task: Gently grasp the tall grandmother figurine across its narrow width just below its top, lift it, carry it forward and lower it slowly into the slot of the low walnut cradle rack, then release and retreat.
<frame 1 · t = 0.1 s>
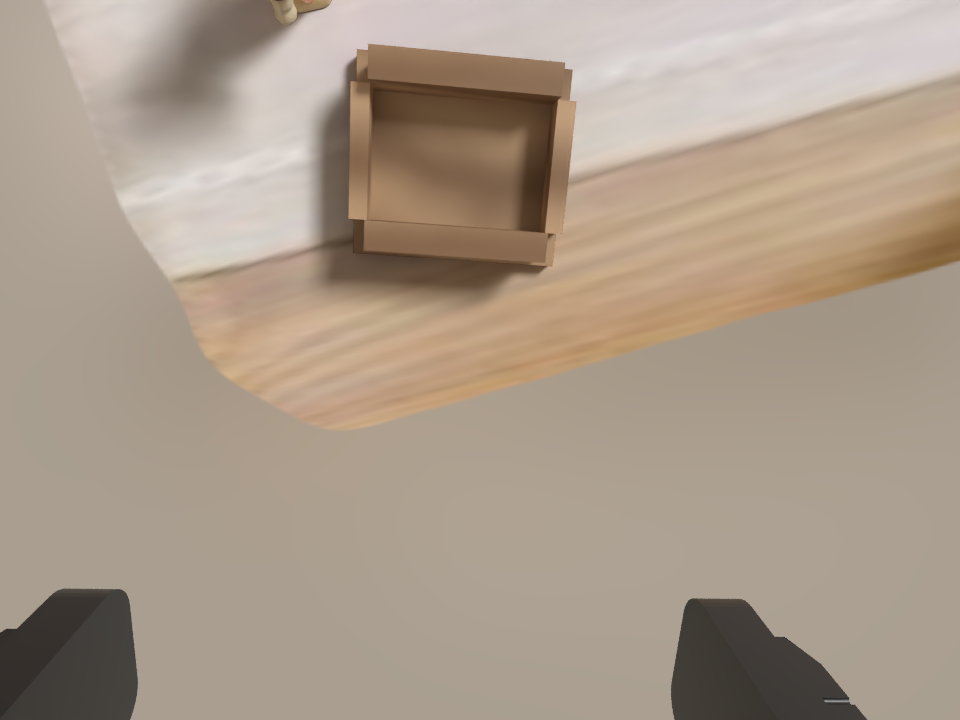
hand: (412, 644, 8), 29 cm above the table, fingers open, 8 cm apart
rack: (459, 164, 34), on the table
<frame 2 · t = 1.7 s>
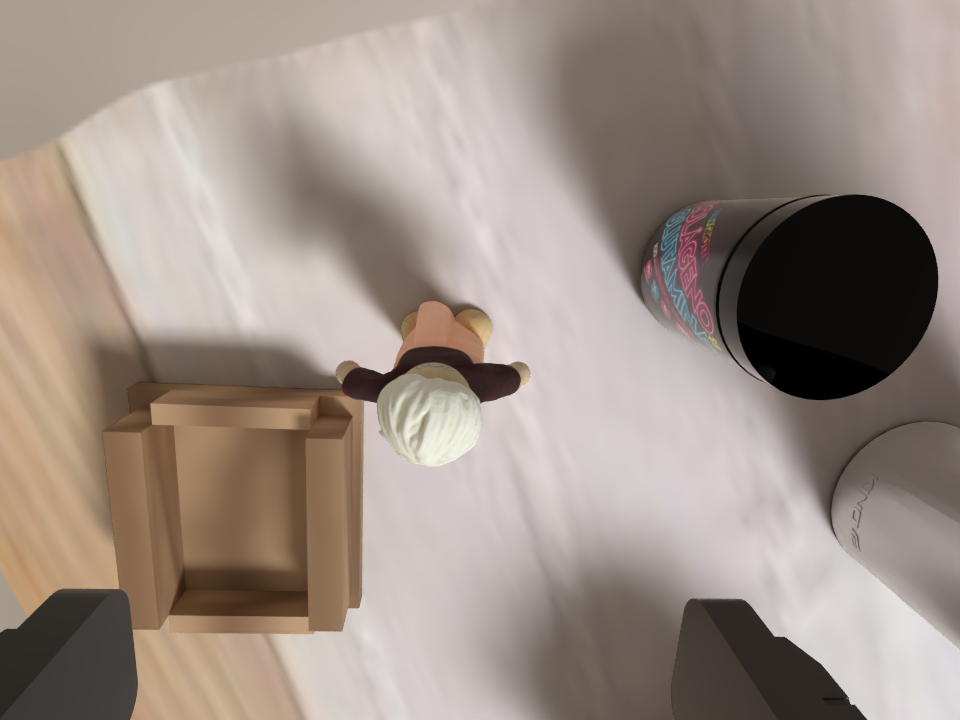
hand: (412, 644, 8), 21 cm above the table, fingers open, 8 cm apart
rack: (256, 495, 30), on the table
grandmother figurine: (435, 335, 29), on the table
supplement container: (698, 269, 29), on the table
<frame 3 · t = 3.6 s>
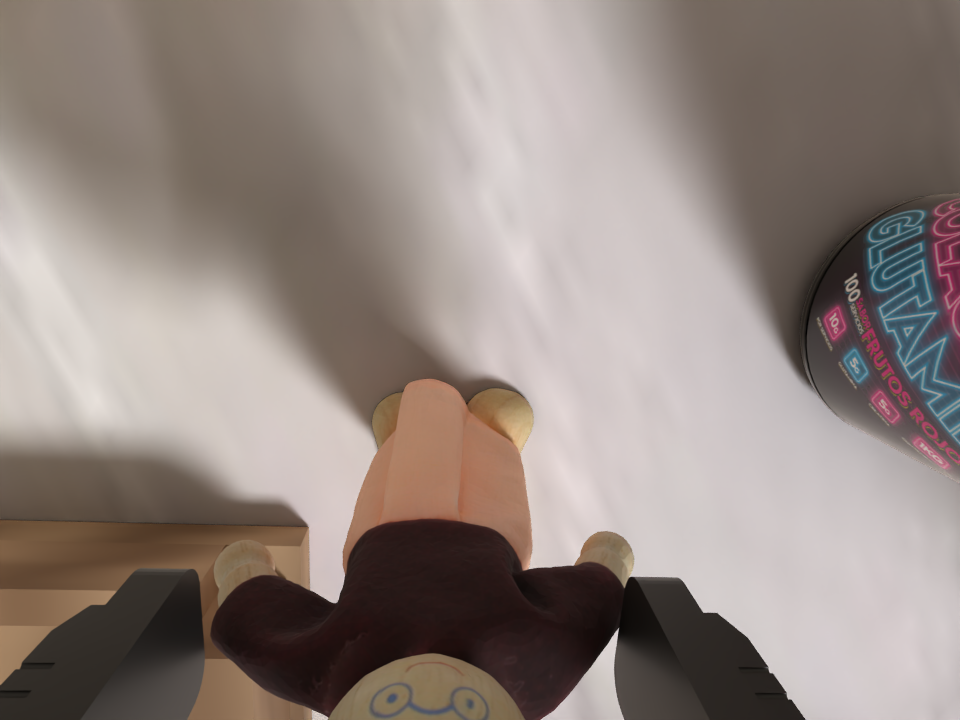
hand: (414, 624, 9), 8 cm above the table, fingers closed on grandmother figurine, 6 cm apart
rack: (130, 696, 18), on the table
grandmother figurine: (433, 431, 17), on the table, touching gripper
supplement container: (897, 315, 16), on the table
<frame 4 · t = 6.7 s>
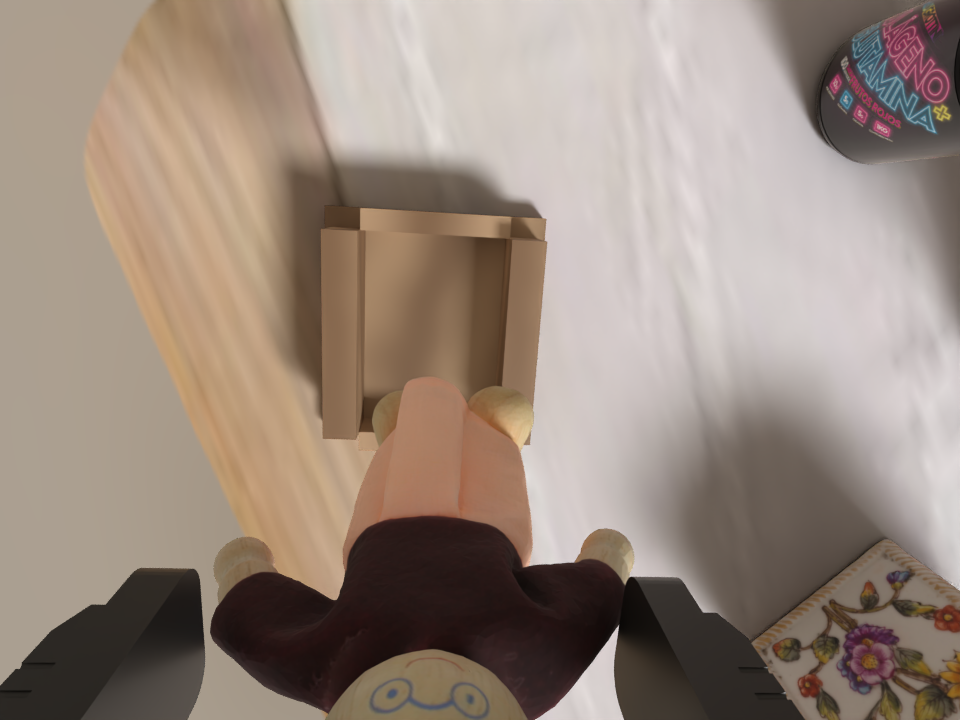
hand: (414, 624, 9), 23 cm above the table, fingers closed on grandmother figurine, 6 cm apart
rack: (432, 326, 31), on the table
decorative jar: (856, 639, 39), on the table
grandmother figurine: (433, 430, 17), point 15 cm above the table, touching gripper
supplement container: (869, 98, 30), on the table
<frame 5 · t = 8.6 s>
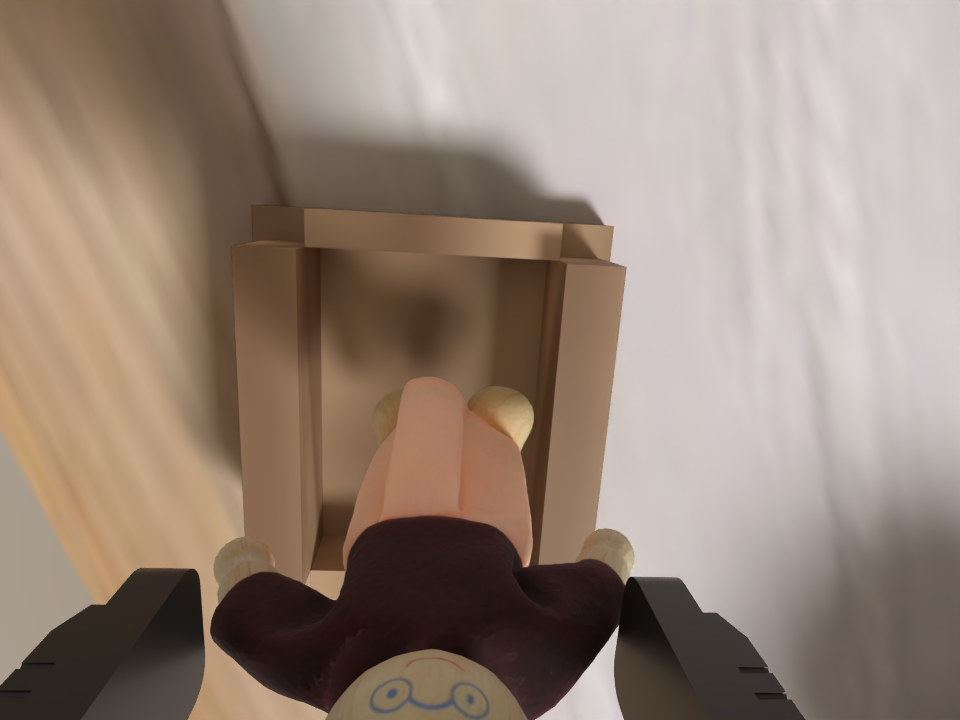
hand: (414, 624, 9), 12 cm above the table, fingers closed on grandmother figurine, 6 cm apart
rack: (430, 393, 20), on the table
grandmother figurine: (433, 429, 17), point 4 cm above the table, touching gripper
when the fingers open (10 cm above the table, at t = 10.0 s): grandmother figurine drops 1 cm, resting on rack.
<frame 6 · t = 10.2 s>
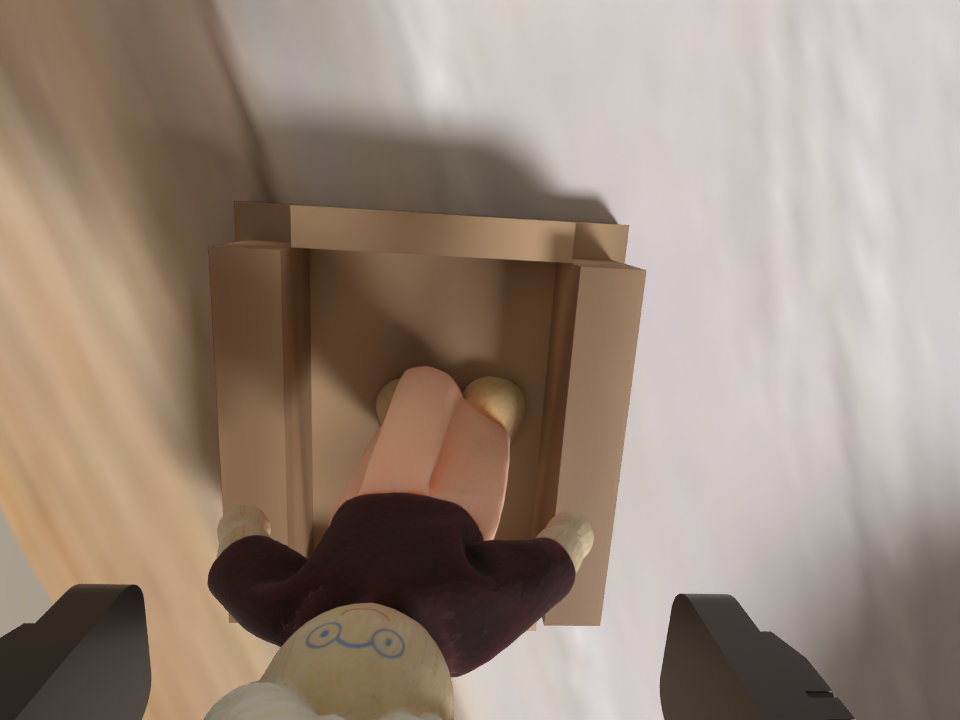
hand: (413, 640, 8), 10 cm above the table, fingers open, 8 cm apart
rack: (429, 405, 19), on the table
grandmother figurine: (433, 415, 18), point 1 cm above the table, touching rack
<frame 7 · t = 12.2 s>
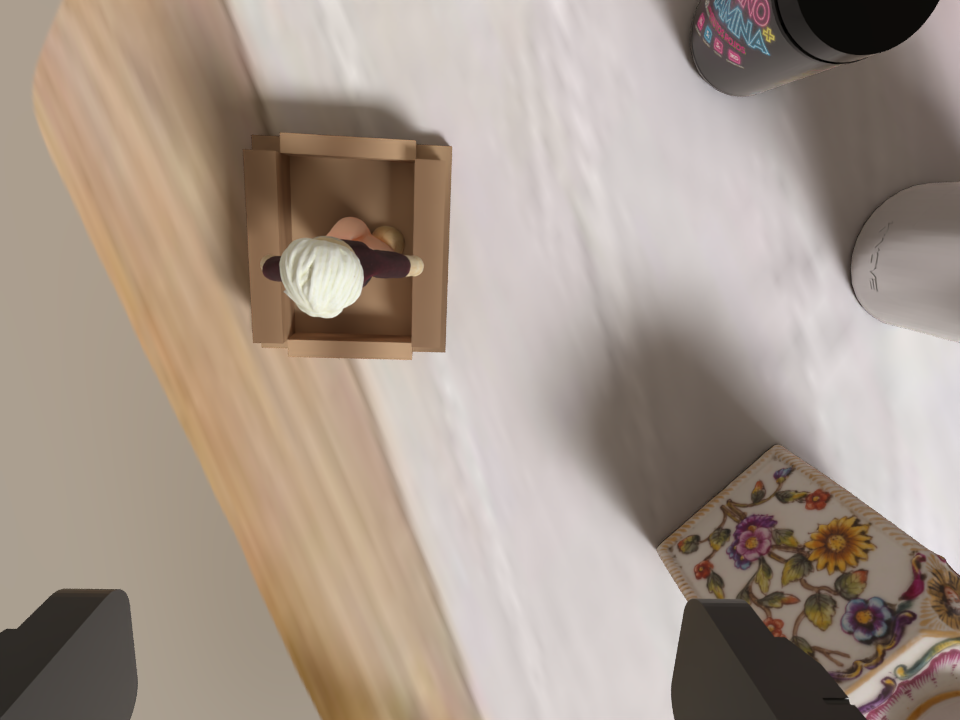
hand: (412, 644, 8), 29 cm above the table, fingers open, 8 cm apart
rack: (356, 248, 35), on the table
decorative jar: (757, 540, 43), on the table
grandmother figurine: (356, 249, 34), point 1 cm above the table, touching rack
supplement container: (739, 37, 34), on the table
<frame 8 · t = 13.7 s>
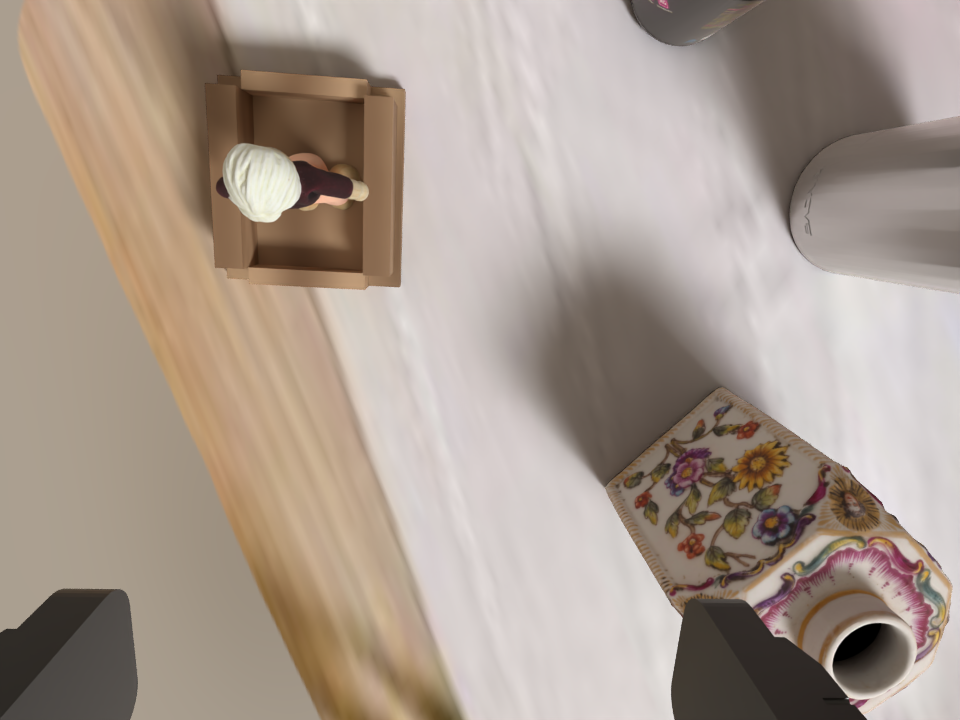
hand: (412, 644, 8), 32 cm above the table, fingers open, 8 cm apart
rack: (316, 187, 37), on the table
decorative jar: (704, 482, 44), on the table
grandmother figurine: (316, 186, 36), point 1 cm above the table, touching rack
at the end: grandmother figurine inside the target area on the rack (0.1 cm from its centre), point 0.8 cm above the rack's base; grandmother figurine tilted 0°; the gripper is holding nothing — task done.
